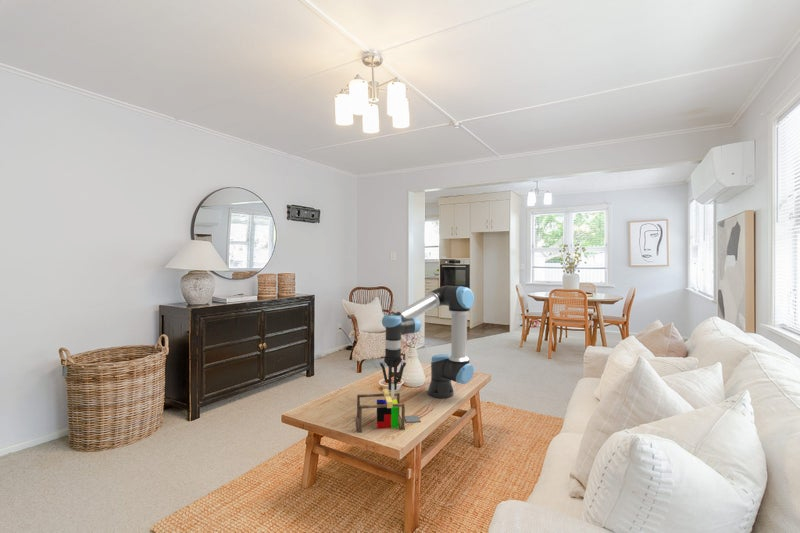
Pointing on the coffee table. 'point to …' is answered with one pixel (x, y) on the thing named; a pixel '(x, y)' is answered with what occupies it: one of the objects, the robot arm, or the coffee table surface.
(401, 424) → the rack
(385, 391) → the bar
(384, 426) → the puzzle toy
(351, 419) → the coffee table surface
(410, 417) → the pad
